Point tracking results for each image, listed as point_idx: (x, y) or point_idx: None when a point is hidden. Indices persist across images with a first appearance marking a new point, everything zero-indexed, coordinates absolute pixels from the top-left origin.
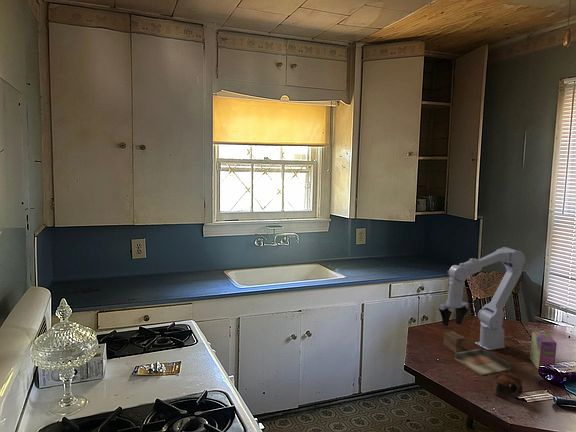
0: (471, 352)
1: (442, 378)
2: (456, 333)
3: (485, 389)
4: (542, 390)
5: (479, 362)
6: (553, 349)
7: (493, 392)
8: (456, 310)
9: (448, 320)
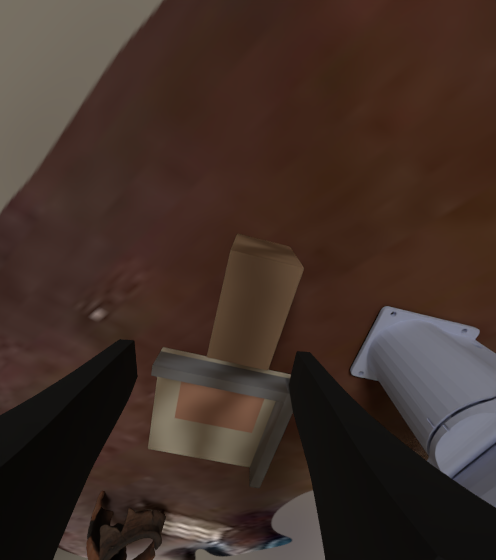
0: (229, 388)
1: (19, 403)
2: (288, 307)
3: (97, 477)
4: (219, 526)
5: (209, 414)
6: None
7: (100, 494)
8: (371, 495)
9: (93, 447)
